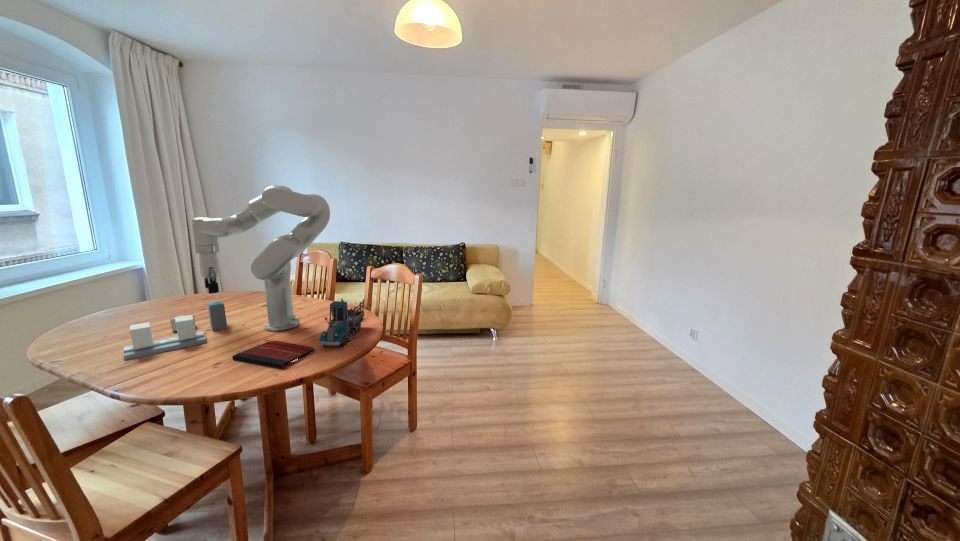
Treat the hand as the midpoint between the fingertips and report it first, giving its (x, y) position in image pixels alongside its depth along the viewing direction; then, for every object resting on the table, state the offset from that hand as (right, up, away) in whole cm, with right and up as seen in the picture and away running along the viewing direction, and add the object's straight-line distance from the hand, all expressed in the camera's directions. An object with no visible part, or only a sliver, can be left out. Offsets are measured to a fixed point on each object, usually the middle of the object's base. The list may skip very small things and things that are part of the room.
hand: (212, 290), depth 147 cm
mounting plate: (-5, -20, -16) cm, 26 cm away
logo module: (0, -16, +3) cm, 16 cm away
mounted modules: (-5, -17, -16) cm, 24 cm away
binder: (+38, -22, -20) cm, 48 cm away
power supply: (-12, -16, +1) cm, 20 cm away
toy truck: (+55, -19, -4) cm, 58 cm away
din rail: (-5, -18, -16) cm, 25 cm away
